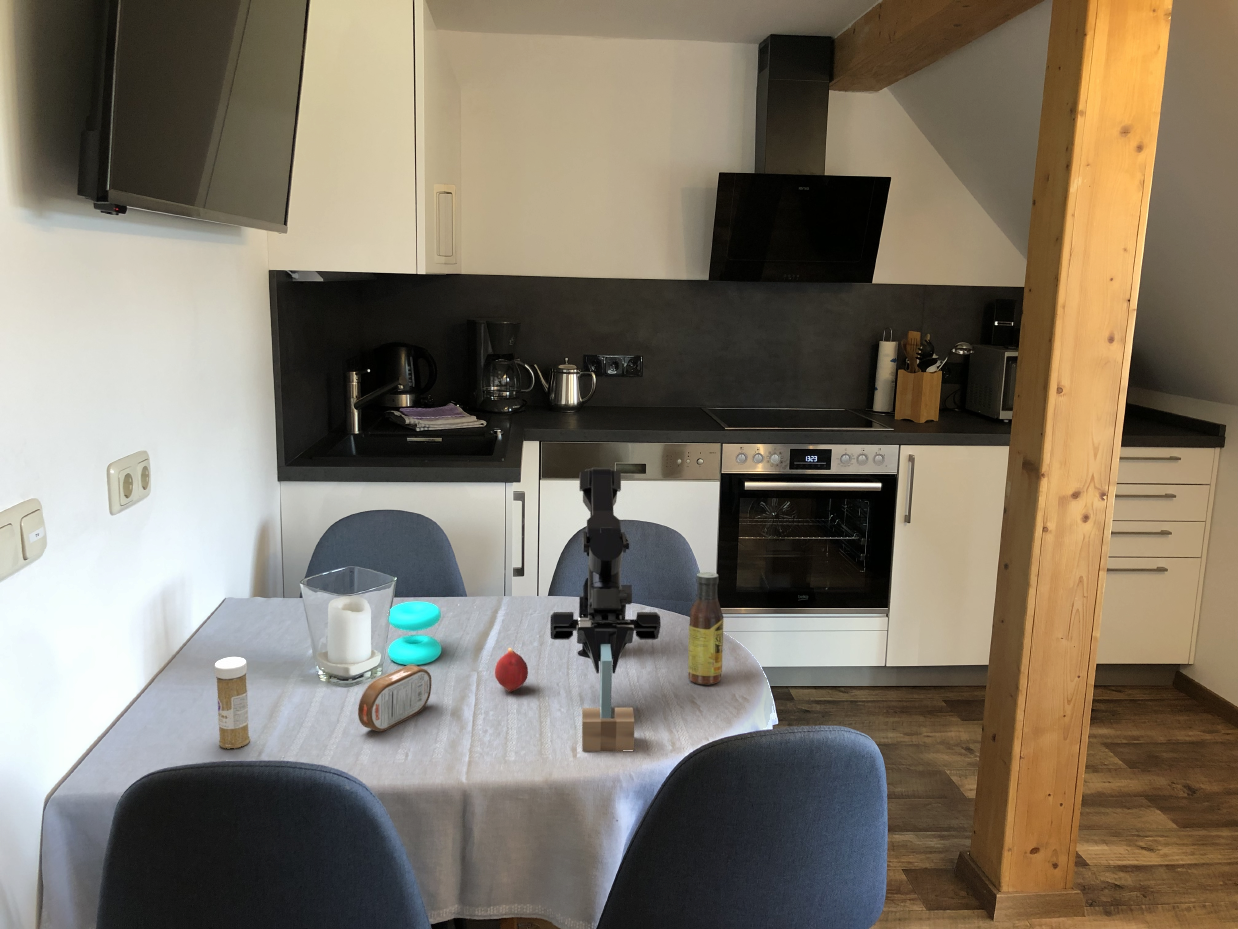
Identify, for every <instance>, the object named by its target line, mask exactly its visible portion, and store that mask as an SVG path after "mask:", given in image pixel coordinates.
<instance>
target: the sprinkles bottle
mask: <svg viewBox="0 0 1238 929" xmlns="http://www.w3.org/2000/svg"><path fill="white" fill-rule="evenodd" d="M247 665H248V664H247V660H246V659H245V658H243V657H238V656H230V657H225V658H222V659H221V658H220V659H219V660H217V661H216V662H215V664H214V675H215V678H216V688H217V689H216V690H217V699H216V700H217V717H218V718H217V719H218V721H217V722H218V728H219V729H218V732H219V740H218V744H219V746H220V748H223V749H226V748H227V749H229V750H231V749H230V748H234V749H239V748H242V747H243V746H246V745H248V744H249V742H250V740H251V739H250V736H249V733H250V732H249V704H248V700H249V699H248V688H247V687H248V686H247V671H248V666H247ZM241 746H242V747H241Z"/></svg>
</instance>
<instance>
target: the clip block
mask: <svg viewBox="0 0 1238 929" xmlns="http://www.w3.org/2000/svg"><path fill="white" fill-rule="evenodd" d="M581 710H582V712H581V716H582V717H581V749H582V750H581V751H619V752H624V751H623V750H634V751H635V715H634V708H633V707H614V718H611V719H601V715H600V707H582V709H581Z"/></svg>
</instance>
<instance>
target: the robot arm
mask: <svg viewBox="0 0 1238 929" xmlns="http://www.w3.org/2000/svg"><path fill="white" fill-rule="evenodd" d="M578 484H579V486H578V487H579V492H582V503H583V505H584V506H585V507H586V508H587V510H588V511H589V512H590V513H589V514H590V516H589V518H588V519H586V530H585V531H582V553H586V556H587V557H588V565H587V577H586V579H585V581H584V584H583V585H582V586H583V587H582V595H579V596H578V600H579V602H578V618H574V614H575V613H574V611H554V612H552V614H550V639H551V640H554V641H555V640H557V641H559V640H560V641H562V640H563V641H566V640H567V641H569V640H570V639H572V637H573V636H574V632H576V643H577V644H578V645H581V646H582V648H581V649H579V650H577V655H579V656H582V657H586V658H587V657H588V658H590V660H591V664H592V666H593V669H594V671H595V673H596V674H599V675H600V656H601V644H610V647H611V656H612V675H613V674H614V675H615V674H616V671H617V667H618V666H619V665H618V664H619V661H620V658H621V656H622V653H623V652H624V649H625V648H626V646H627V645H631V644H632V643H633V641H634V640H633V639H634V632H635V636H636V637H637V638H638V639H639V641H640V640H641V641H642V640H643V641H644V640H645V641H646V640H651V641H652V640H654V641H655V640H658V639H659V637H660V631H661V615H660V614H659V613H658V612H657V611H637V612H636V618H634V619H630V618H629V619H627V618H626V610H627V605H629V606H630V605H631V604H632V603H633V591H632V590H633V588H632V584H621V567H622V561H623V556H624V555H623V554H626V553H627V550H630V541H629V537H627V535H626V532H625V531H622V523H621V522H622V521H621V520H620V519H619V518H618V517H617V516H616V515H615V514H614V513H615V512H614V506H615V505H616V503H617V498H618V493H620V492H621V491H622V472H620V471H617V470H615V469H612V468H610V467H592V468H585V470H584V471H583V470H582V471H580V472H579V483H578Z"/></svg>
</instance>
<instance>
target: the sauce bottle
mask: <svg viewBox="0 0 1238 929" xmlns="http://www.w3.org/2000/svg"><path fill="white" fill-rule="evenodd" d="M695 577H696V579H695V580H696V584H697V585H696V594H695V595H696V600H695V601H694V603H693V604H692V605H691V608H690V610H689V625H688V649H687V650H688V656H687V659H688V661H687V671H688V675H687V677H688V680H689V681H691V682H692V683H695V684H697V685H707V686H708V685H713V684H717V683H719V682H720V681H721V678H722V672H723V651H724V649H723V646H724V619H725V618H724V615H723V612H722V608H721V605H720V602H719V598H718V596H719V594H718V584H719V582H720V581H719V574H718V573H715V572H708V571H707V572H705V571H703V572H699V573H697V574H696V576H695Z"/></svg>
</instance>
